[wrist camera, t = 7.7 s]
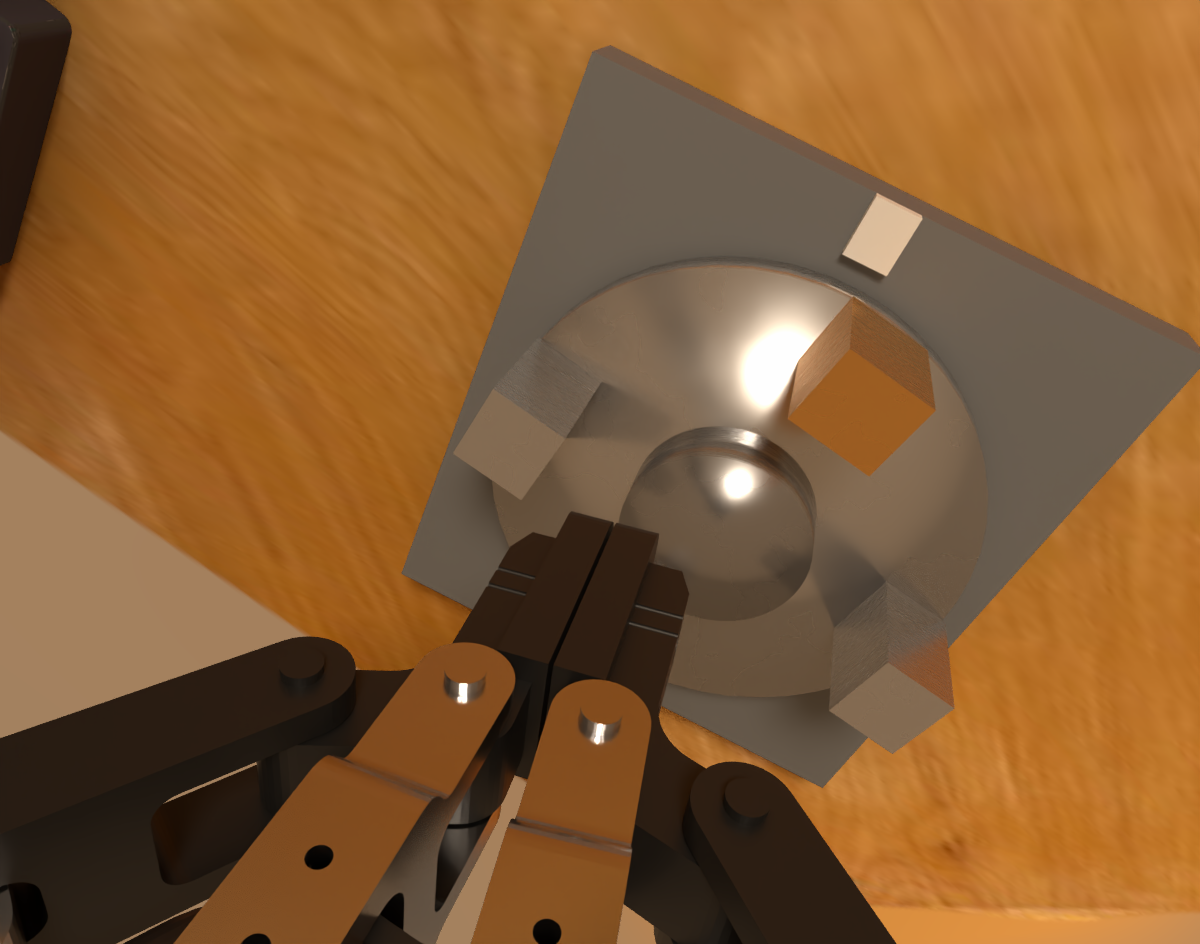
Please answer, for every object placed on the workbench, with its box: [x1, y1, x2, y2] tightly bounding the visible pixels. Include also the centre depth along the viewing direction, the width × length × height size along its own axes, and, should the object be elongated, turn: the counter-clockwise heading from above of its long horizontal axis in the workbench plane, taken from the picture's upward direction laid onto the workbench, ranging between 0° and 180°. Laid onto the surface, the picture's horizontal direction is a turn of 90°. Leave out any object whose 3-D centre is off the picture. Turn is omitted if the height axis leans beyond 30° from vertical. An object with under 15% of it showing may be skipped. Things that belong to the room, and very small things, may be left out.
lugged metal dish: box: [453, 256, 988, 754], centre depth 28 cm, size 16×16×5 cm
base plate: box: [402, 45, 1200, 788], centre depth 31 cm, size 19×21×2 cm
